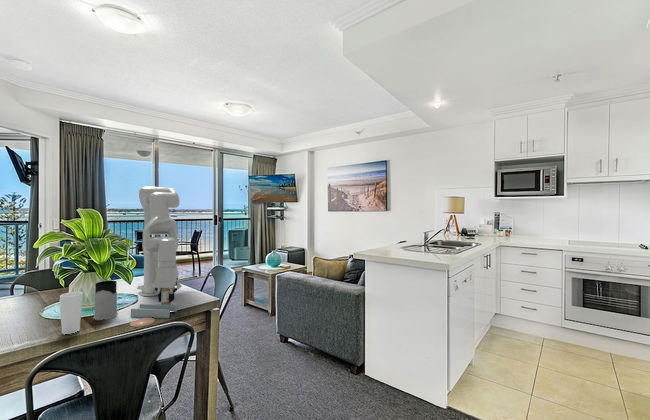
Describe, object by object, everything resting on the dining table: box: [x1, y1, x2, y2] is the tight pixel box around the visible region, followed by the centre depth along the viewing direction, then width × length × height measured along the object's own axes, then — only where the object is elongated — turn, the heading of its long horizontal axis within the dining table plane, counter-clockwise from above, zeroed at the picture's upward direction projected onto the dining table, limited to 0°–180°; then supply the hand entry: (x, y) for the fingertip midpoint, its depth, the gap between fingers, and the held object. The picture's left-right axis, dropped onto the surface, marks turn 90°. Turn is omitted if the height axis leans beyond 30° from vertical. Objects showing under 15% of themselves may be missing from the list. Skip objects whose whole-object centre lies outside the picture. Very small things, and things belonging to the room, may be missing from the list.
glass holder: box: [92, 280, 119, 321], centre depth 131 cm, size 9×14×15 cm, turn 20°
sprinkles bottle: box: [160, 288, 172, 305], centre depth 141 cm, size 5×5×13 cm
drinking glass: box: [59, 291, 84, 336], centre depth 112 cm, size 7×7×15 cm
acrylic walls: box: [130, 303, 178, 319], centre depth 132 cm, size 17×7×4 cm, turn 89°
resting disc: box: [129, 317, 156, 328], centre depth 123 cm, size 9×9×1 cm
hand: (166, 300), depth 141 cm, fingers closed on sprinkles bottle, 4 cm apart
